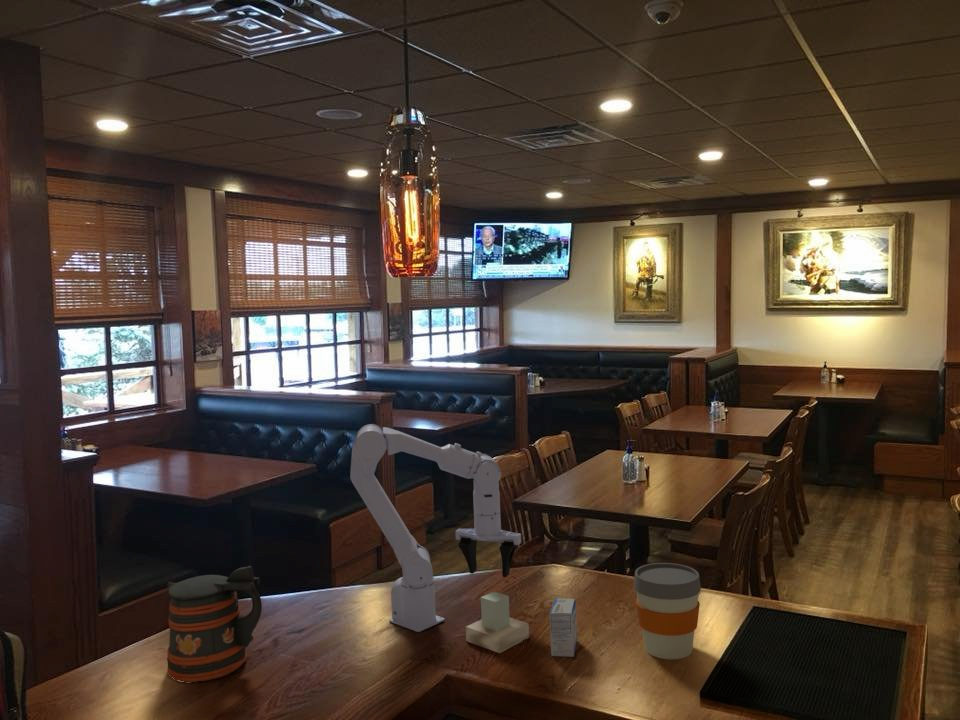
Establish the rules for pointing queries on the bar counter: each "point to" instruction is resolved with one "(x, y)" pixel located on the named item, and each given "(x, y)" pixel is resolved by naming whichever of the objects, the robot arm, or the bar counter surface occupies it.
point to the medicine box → (563, 627)
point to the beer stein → (210, 625)
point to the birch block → (497, 635)
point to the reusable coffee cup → (667, 608)
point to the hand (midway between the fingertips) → (489, 573)
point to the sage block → (495, 611)
